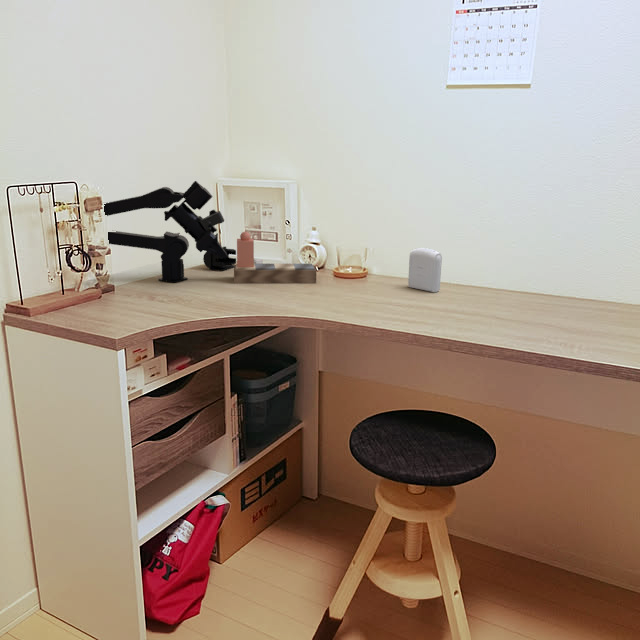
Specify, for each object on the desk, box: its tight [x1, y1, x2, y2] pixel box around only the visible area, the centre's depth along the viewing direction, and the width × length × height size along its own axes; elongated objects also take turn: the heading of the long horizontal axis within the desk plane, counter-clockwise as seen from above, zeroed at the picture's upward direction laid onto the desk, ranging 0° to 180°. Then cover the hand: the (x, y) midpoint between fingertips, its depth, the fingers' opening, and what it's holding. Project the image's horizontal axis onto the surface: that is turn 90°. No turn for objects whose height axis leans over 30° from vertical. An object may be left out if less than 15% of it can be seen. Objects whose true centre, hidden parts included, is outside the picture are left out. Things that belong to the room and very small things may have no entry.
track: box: [233, 262, 317, 284], centre depth 201 cm, size 25×9×4 cm, turn 97°
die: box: [254, 258, 264, 264], centre depth 213 cm, size 4×4×4 cm
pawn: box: [236, 231, 255, 267], centre depth 198 cm, size 5×5×10 cm
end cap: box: [202, 246, 237, 272], centre depth 218 cm, size 10×7×7 cm
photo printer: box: [407, 247, 443, 293], centre depth 193 cm, size 10×4×12 cm, turn 44°
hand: (226, 257), depth 198 cm, fingers closed
